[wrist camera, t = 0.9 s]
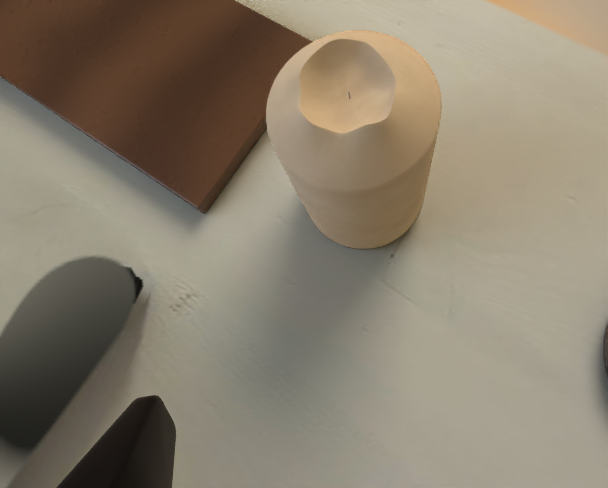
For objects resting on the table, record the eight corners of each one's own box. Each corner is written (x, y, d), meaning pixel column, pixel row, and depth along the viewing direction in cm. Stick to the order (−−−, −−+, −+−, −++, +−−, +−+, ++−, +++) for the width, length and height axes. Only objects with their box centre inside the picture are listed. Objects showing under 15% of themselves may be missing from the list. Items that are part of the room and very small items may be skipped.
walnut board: (319, 54, 27) (317, 43, 26) (205, 214, 26) (197, 208, 25) (49, -89, 32) (39, -104, 31) (-55, 39, 31) (-69, 29, 30)
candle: (448, 204, 24) (489, 95, 14) (350, 274, 24) (324, 212, 14) (376, 117, 25) (369, -35, 16) (283, 183, 25) (220, 72, 16)
